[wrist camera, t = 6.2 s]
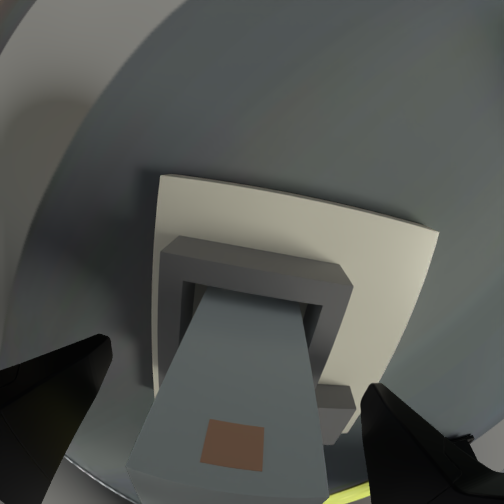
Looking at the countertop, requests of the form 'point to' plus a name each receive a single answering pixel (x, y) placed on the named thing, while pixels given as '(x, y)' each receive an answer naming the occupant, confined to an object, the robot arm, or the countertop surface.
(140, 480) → the plug
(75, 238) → the countertop surface
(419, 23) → the countertop surface
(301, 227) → the board
